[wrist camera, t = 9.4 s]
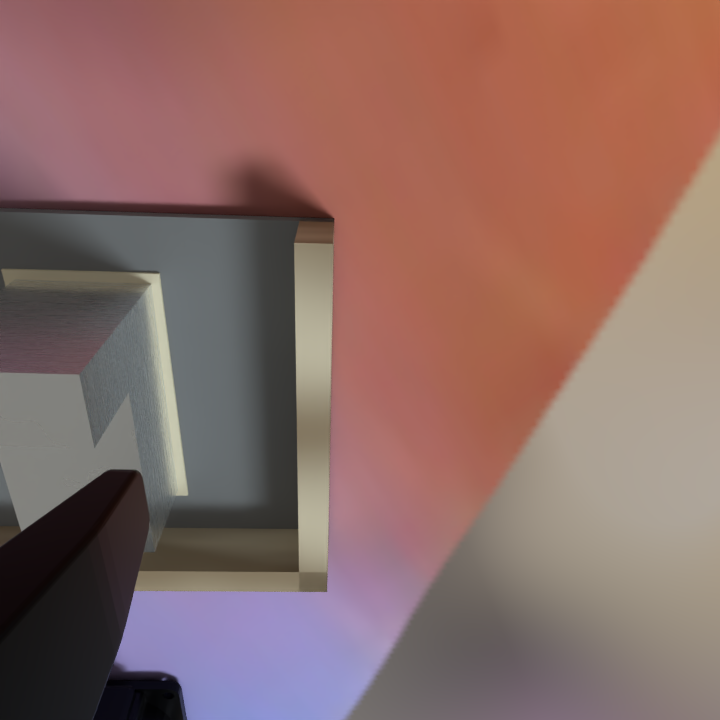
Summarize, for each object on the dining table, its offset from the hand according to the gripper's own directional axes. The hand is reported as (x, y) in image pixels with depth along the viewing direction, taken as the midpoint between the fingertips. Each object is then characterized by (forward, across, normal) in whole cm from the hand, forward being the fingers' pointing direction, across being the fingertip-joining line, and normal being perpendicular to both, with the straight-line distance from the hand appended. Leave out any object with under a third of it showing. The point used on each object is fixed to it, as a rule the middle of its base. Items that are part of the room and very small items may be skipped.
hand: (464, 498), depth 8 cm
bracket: (+10, +10, +4) cm, 15 cm away
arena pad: (+11, +8, +6) cm, 15 cm away
